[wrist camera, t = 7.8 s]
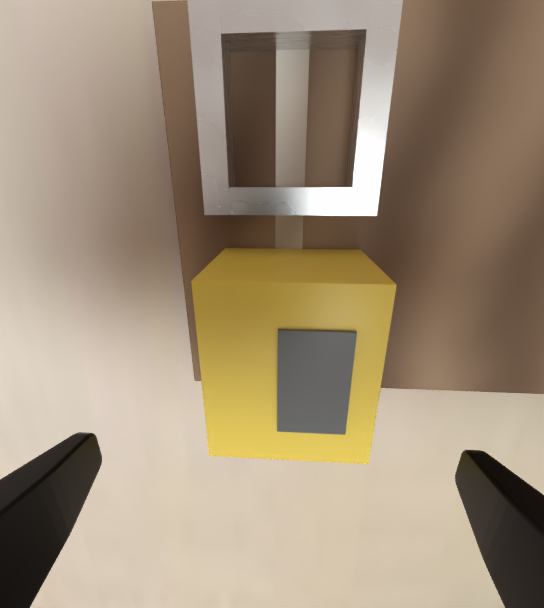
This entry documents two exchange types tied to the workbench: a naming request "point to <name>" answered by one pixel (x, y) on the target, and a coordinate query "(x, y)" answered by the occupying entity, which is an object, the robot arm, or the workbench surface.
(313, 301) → the block
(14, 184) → the workbench surface
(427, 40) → the plywood board
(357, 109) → the frame
